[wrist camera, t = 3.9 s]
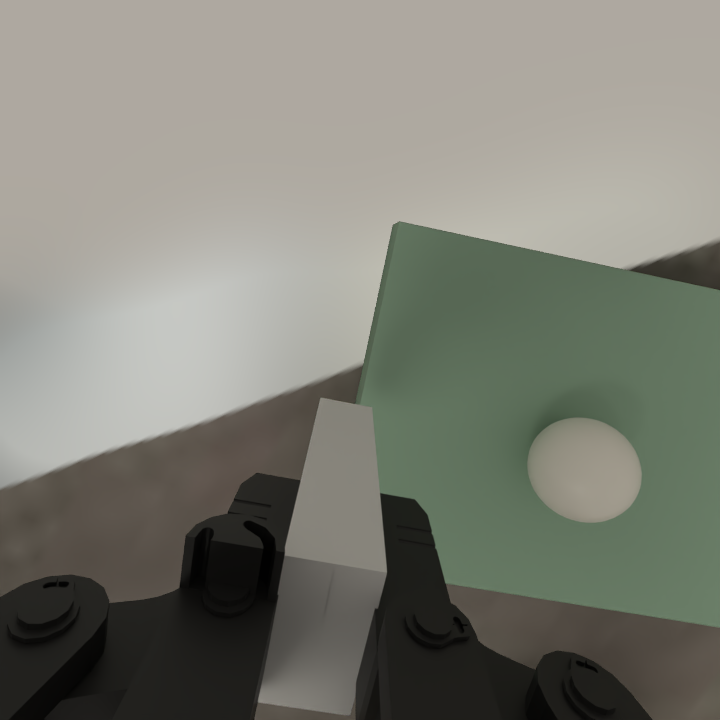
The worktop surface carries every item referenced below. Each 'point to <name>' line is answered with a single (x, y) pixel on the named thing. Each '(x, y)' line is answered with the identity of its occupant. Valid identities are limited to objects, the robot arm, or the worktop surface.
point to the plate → (548, 418)
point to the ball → (584, 470)
